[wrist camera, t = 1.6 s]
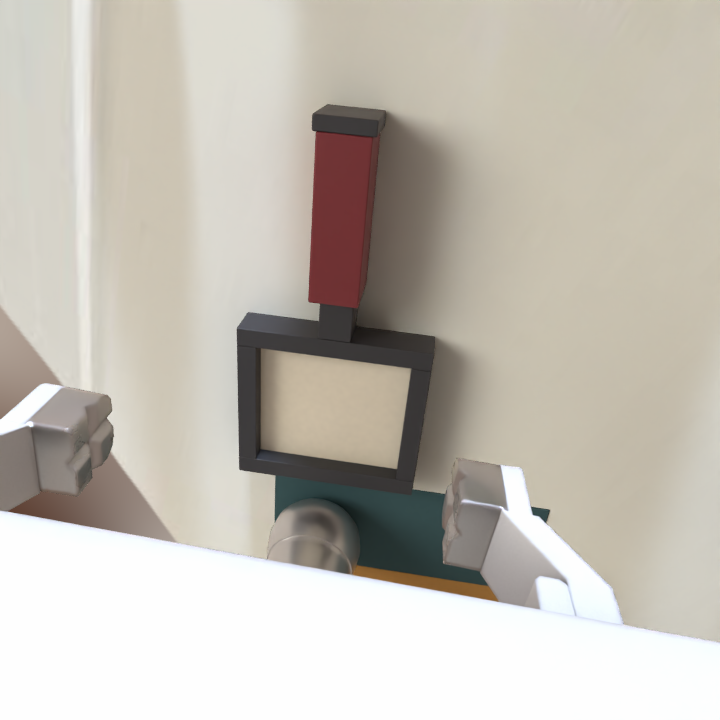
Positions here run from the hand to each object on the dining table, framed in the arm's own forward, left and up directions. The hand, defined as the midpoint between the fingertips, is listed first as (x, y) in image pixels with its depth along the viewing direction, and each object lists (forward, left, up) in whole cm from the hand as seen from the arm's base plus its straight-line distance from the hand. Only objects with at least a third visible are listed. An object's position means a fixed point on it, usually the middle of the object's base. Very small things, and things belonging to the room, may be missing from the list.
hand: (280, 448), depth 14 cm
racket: (+2, +7, -23) cm, 24 cm away
